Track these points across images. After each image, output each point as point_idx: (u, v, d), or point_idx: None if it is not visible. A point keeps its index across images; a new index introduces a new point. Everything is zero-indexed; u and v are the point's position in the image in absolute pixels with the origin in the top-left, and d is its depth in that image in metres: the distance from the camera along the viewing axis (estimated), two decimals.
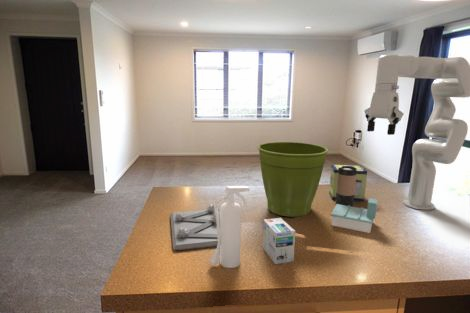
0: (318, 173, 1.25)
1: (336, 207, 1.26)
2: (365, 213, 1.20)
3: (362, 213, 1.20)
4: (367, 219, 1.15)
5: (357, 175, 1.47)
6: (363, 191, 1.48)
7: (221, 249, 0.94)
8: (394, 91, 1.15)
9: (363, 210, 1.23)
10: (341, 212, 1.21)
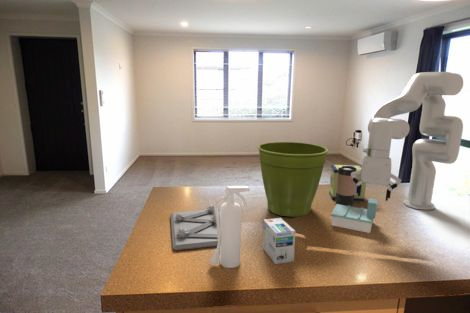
0: (318, 173, 1.25)
1: (336, 207, 1.26)
2: (365, 213, 1.20)
3: (362, 213, 1.20)
4: (367, 219, 1.15)
5: (357, 175, 1.47)
6: (363, 191, 1.48)
7: (221, 249, 0.94)
8: (366, 155, 1.15)
9: (363, 210, 1.23)
10: (341, 212, 1.21)
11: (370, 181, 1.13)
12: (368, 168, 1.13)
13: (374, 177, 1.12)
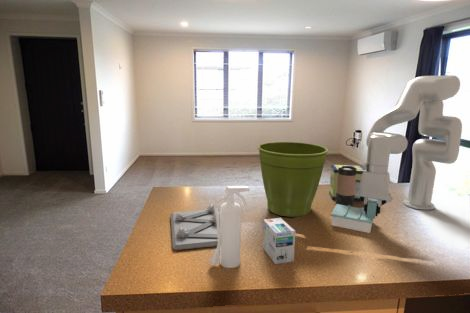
0: (318, 173, 1.25)
1: (336, 207, 1.26)
2: None
3: (362, 213, 1.20)
4: (367, 219, 1.15)
5: (357, 175, 1.47)
6: None
7: (221, 249, 0.94)
8: None
9: (363, 210, 1.23)
10: (341, 212, 1.21)
11: (369, 196, 1.15)
12: (367, 183, 1.14)
13: (373, 192, 1.14)
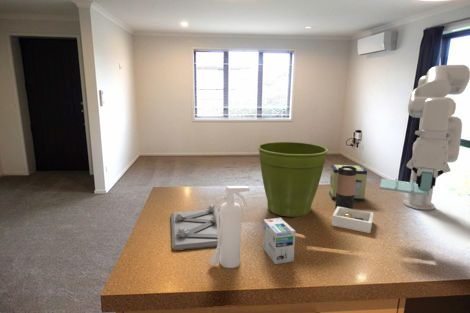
0: (318, 173, 1.25)
1: (383, 181, 1.16)
2: (417, 186, 1.10)
3: (414, 186, 1.10)
4: (421, 191, 1.05)
5: (357, 175, 1.47)
6: (363, 191, 1.48)
7: (221, 249, 0.94)
8: (419, 137, 1.06)
9: (413, 184, 1.13)
10: (390, 185, 1.11)
11: (424, 165, 1.04)
12: (422, 151, 1.04)
13: (429, 161, 1.03)
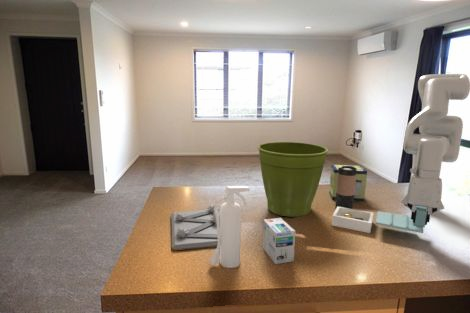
0: (318, 173, 1.25)
1: (379, 215, 1.19)
2: (412, 221, 1.13)
3: (409, 221, 1.13)
4: (416, 228, 1.07)
5: (357, 175, 1.47)
6: (363, 191, 1.48)
7: (221, 249, 0.94)
8: (414, 175, 1.08)
9: (408, 218, 1.16)
10: (386, 220, 1.13)
11: (418, 203, 1.07)
12: (416, 189, 1.07)
13: (423, 199, 1.06)
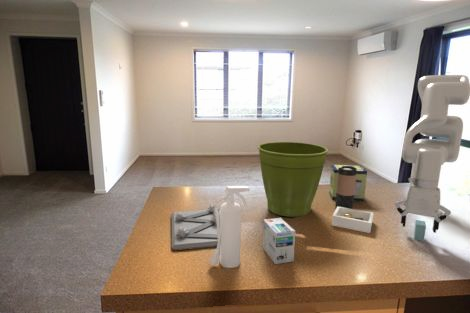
0: (318, 173, 1.25)
1: None
2: None
3: None
4: None
5: (357, 175, 1.47)
6: (363, 191, 1.48)
7: (221, 249, 0.94)
8: (413, 184, 1.09)
9: None
10: None
11: (417, 212, 1.08)
12: (415, 199, 1.08)
13: (422, 208, 1.07)
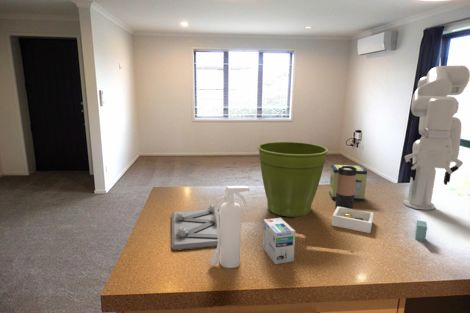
0: (318, 173, 1.25)
1: None
2: None
3: None
4: None
5: (357, 175, 1.47)
6: (363, 191, 1.48)
7: (221, 249, 0.94)
8: (423, 136, 1.07)
9: None
10: None
11: (428, 164, 1.06)
12: (426, 150, 1.06)
13: (432, 160, 1.05)
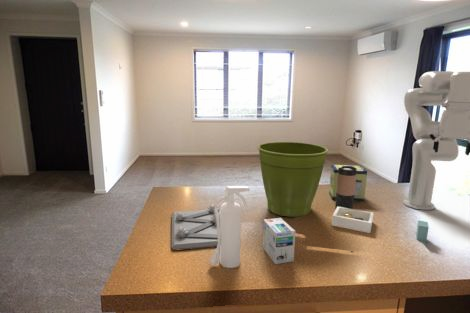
0: (318, 173, 1.25)
1: None
2: None
3: None
4: None
5: (357, 175, 1.47)
6: (363, 191, 1.48)
7: (221, 249, 0.94)
8: (446, 109, 1.13)
9: None
10: None
11: (451, 135, 1.12)
12: (449, 122, 1.11)
13: (455, 131, 1.11)
